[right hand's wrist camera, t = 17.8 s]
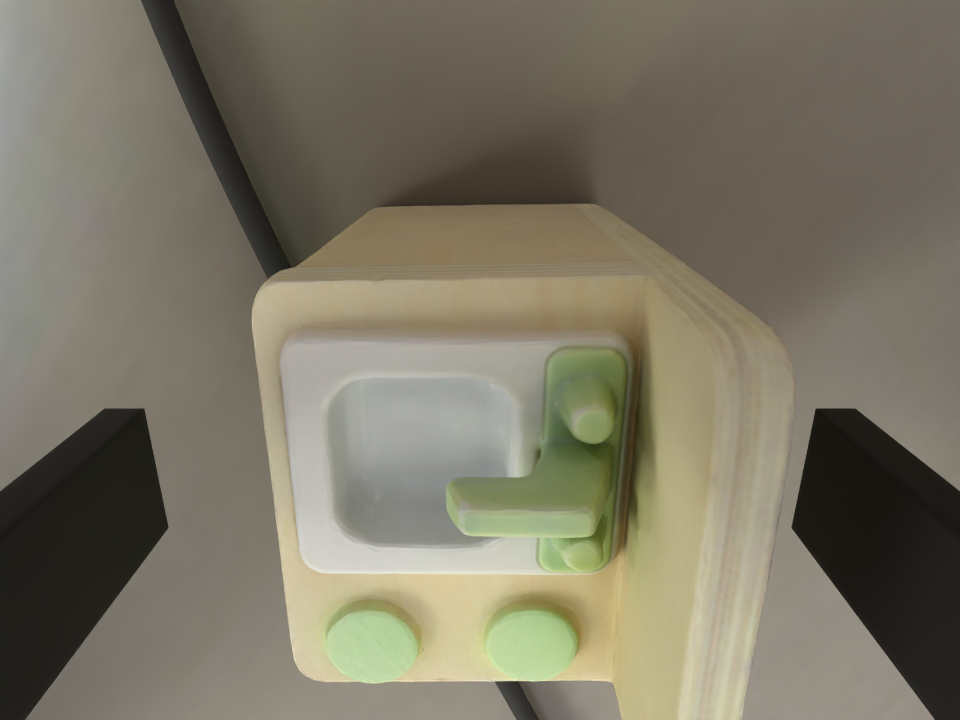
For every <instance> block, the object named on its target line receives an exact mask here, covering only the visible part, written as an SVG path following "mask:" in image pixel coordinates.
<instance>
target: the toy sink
mask: <svg viewBox="0 0 960 720" xmlns="http://www.w3.org/2000/svg"><path fill="white" fill-rule="evenodd" d="M252 333H253V340H254V348H255V357H256V365H257V373H258V380H259V388H260V396H261V404H262V412H263V421H264V430H265V437H266V443H267V450H268V459H269V467H270V475H271V482H272V489H273V497H274V508H275V516H276V524H277V531H278V539H279V549H280V558H281V566H282V573H283V582H284V591H285V599H286V605H287V615H288V624H289V632H290V638H291V644H292V650H293V658H294V660H295V663H296V665H297V667H298V669H299V670H300V671H301V672H302V673H303V674H304V675H305V676H307V677H309V678H311V679H313V680H317V681H322V682H364V683H384V682H388V681H400V682H420V681H441V682H442V681H533V682H535V681H582V680H588V681H610V682H612V683H613V684H614V687H615V691H616V695H617V699H618V704H619V708H620V712H621V717H622V720H741V718H742V713H743V708H744V703H745V698H746V693H747V688H748V683H749V678H750V674H751V669H752V664H753V659H754V654H755V646H756V640H757V635H758V629H759V624H760V619H761V614H762V608H763V603H764V598H765V593H766V588H767V583H768V578H769V573H770V568H771V563H772V557H773V551H774V545H775V539H776V533H777V527H778V520H779V516H780V511H781V506H782V499H783V493H784V486H785V480H786V474H787V469H788V462H789V455H790V448H791V440H792V432H793V423H794V415H795V392H796V385H795V379H794V373H793V366H792V362H791V357H790V353H789V351H788V350H787V349H786V347H785V345H784V342H783V341H782V339H781V338H780V337H779V335H778V334H777V333H776V331H775V330H774V329H773V328H772V327H771V326H770V325H769V324H768V323H766V322H765V321H763V320H762V319H760V318H759V317H758V316H756V315H755V314H754V313H752V312H751V311H750V310H748V309H747V308H745V307H744V306H742V305H741V304H739V303H738V302H737V301H735V300H734V299H733V298H732V297H730V296H729V295H728V294H727V293H725V292H724V291H722V290H721V289H720V288H718V287H716V286H715V285H714V284H712V283H711V282H710V281H708V280H707V279H706V278H705V277H703V276H702V275H700V274H699V273H697V272H696V271H694V270H693V269H692V268H690V267H689V266H688V265H686V264H685V263H684V262H682V261H681V260H680V259H678V258H677V257H675V256H673V255H672V254H671V253H670V252H668V251H667V250H665V249H664V248H662V247H661V246H660V245H658V244H657V243H655V242H654V241H652V240H651V239H650V238H648V237H646V236H645V235H643V234H642V233H641V232H639V231H638V230H636V229H635V228H633V227H632V226H630V225H629V224H627V223H626V222H624V221H623V220H622V219H620V218H619V217H617V216H616V215H614V214H613V213H612V212H610V211H608V210H607V209H605V208H604V207H602V206H600V205H596V204H528V205H460V206H397V207H379V208H374V209H371V210H369V211H368V212H367V213H366V214H365V215H363V216H362V217H361V218H360V219H359V220H357V221H356V222H354V223H353V224H351V225H350V226H349V227H348V228H346V229H345V230H344V231H343V232H341V233H340V234H338V235H337V236H336V237H334V238H333V239H332V240H331V241H329V242H328V243H327V244H325V245H324V246H323V247H322V248H321V249H320V250H318V251H317V252H316V253H314V254H313V255H312V256H310V257H309V258H307V259H306V260H304V261H303V262H301V263H300V264H299V265H297V266H296V267H294V268H289V269H285V270H281V271H279V272H277V273H276V274H274V275H273V276H271V277H270V278H269V279H268V280H267V281H266V282H265V283H264V284H263V285H262V286H261V288H260V289H259V290H258V293H257V295H256V297H255V300H254V303H253V309H252Z"/></svg>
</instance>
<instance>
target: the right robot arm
mask: <svg viewBox="0 0 960 720" xmlns="http://www.w3.org/2000/svg"><path fill="white" fill-rule="evenodd" d="M141 1H142V4H143V6H144V9H145V11H146V13H147V16H148V18H149V21H150V23H151V26H152V28H153V30H154V33H155V35H156V38H157V40H158V42H159V45H160V47H161V49H162V52H163V54H164V57H165V59H166V61H167V64H168V66H169V68H170V71H171V73H172V75H173V78H174V80H175V82H176V85H177V87H178V89H179V92H180V94H181V96H182V98H183V101H184V103H185V105H186V108H187V110H188V112H189V114H190V117H191V119H192V121H193V123H194V126H195V128H196V130H197V132H198V134H199V137H200V139H201V141H202V143H203V145H204V148H205V150H206V152H207V154H208V156H209V158H210V161H211V163H212V165H213V167H214V169H215V171H216V173H217V176H218V178H219V180H220V182H221V184H222V186H223V188H224V190H225V192H226V194H227V197H228V199H229V201H230V203H231V205H232V207H233V209H234V211H235V213H236V215H237V217H238V219H239V221H240V223H241V225H242V227H243V229H244V231H245V233H246V235H247V238H248V240H249V242H250V244H251V246H252V248H253V250H254V252H255V254H256V256H257V258H258V260H259V262H260V264H261V266H262V268H263V270H264V272H265V274H266V276H267V278H268V279H269V278H270V277H271V276H273V275H274V274H276V273H277V272H279V271H281V270H285V269H289V268H291V266H290V264H289V262H288V260H287V258H286V256H285V254H284V251H283V249H282V247H281V245H280V243H279V241H278V239H277V237H276V235H275V233H274V231H273V229H272V226H271V224H270V222H269V220H268V218H267V216H266V214H265V212H264V210H263V207H262V205H261V203H260V201H259V199H258V197H257V195H256V193H255V190H254V188H253V186H252V184H251V182H250V180H249V177H248V175H247V173H246V171H245V169H244V167H243V164H242V162H241V160H240V158H239V156H238V153H237V151H236V149H235V147H234V144H233V142H232V140H231V138H230V135H229V133H228V131H227V129H226V126H225V124H224V122H223V119H222V117H221V115H220V112H219V110H218V108H217V105H216V103H215V101H214V98H213V96H212V94H211V91H210V89H209V87H208V84H207V82H206V79H205V77H204V75H203V72H202V70H201V67H200V65H199V62H198V60H197V58H196V55H195V53H194V50H193V48H192V45H191V43H190V40H189V38H188V35H187V33H186V30H185V28H184V25H183V23H182V20H181V18H180V15H179V13H178V10H177V8H176V5H175V3H174V0H141ZM167 529H168V523H167V518H166V513H165V508H164V503H163V499H162V494H161V489H160V484H159V479H158V474H157V469H156V464H155V459H154V454H153V449H152V444H151V440H150V435H149V430H148V425H147V420H146V415H145V410H144V409H104V410H102V411H101V412H100V413H99V414H97V415H96V416H95V417H94V418H92V419H91V420H90V421H89V422H87V423H86V424H85V425H83V426H82V427H81V428H80V429H78V430H77V431H76V432H75V433H73V434H72V435H71V436H70V437H68V438H67V439H66V440H65V441H63V442H62V443H61V444H59V445H58V446H57V447H56V448H54V449H53V450H52V451H51V452H49V453H48V454H47V455H46V456H44V457H43V458H42V459H41V460H39V461H38V462H37V463H36V464H34V465H33V466H32V467H30V468H29V469H28V470H27V471H25V472H24V473H23V474H22V475H20V476H19V477H18V478H17V479H15V480H14V481H13V482H12V483H10V484H9V485H8V486H6V487H5V488H4V489H3V490H1V491H0V720H25V719H26V718H27V716H28V715H29V714H30V712H31V711H32V710H33V708H34V707H35V706H36V704H37V703H38V702H39V700H40V699H41V698H42V696H43V695H44V694H45V692H46V691H47V690H48V688H49V687H50V686H51V684H52V683H53V682H54V680H55V679H56V678H57V676H58V675H59V674H60V672H61V671H62V669H63V668H64V667H65V665H66V664H67V663H68V661H69V660H70V659H71V657H72V656H73V655H74V653H75V652H76V651H77V649H78V648H79V647H80V645H81V644H82V643H83V641H84V640H85V639H86V637H87V636H88V635H89V633H90V632H91V631H92V629H93V628H94V627H95V625H96V624H97V623H98V621H99V620H100V619H101V617H102V616H103V615H104V613H105V612H106V611H107V609H108V608H109V607H110V605H111V604H112V603H113V601H114V600H115V599H116V597H117V596H118V595H119V593H120V592H121V591H122V589H123V588H124V587H125V585H126V584H127V583H128V581H129V580H130V579H131V577H132V576H133V575H134V573H135V572H136V571H137V569H138V568H139V567H140V565H141V564H142V563H143V561H144V560H145V559H146V557H147V556H148V555H149V553H150V552H151V551H152V549H153V548H154V547H155V545H156V544H157V542H158V541H159V540H160V538H161V537H162V536H163V534H164V533H165V532H166V530H167ZM792 529H793V530H794V532H795V533H796V534H797V536H798V537H799V538H800V540H801V541H802V542H803V544H804V545H805V546H806V548H807V549H808V550H809V552H810V553H811V554H812V556H813V557H814V559H815V560H816V561H817V563H818V564H819V565H820V567H821V568H822V569H823V571H824V572H825V573H826V575H827V576H828V577H829V579H830V580H831V581H832V583H833V584H834V585H835V587H836V588H837V589H838V591H839V592H840V593H841V595H842V596H843V597H844V599H845V600H846V601H847V603H848V604H849V605H850V607H851V608H852V609H853V611H854V612H855V613H856V615H857V616H858V617H859V619H860V620H861V621H862V623H863V624H864V625H865V627H866V628H867V629H868V631H869V632H870V633H871V635H872V636H873V637H874V639H875V640H876V641H877V643H878V644H879V645H880V647H881V648H882V649H883V651H884V652H885V653H886V655H887V656H888V657H889V659H890V660H891V661H892V663H893V664H894V665H895V667H896V668H897V669H898V671H899V672H900V673H901V675H902V676H903V677H904V679H905V680H906V681H907V683H908V684H909V686H910V687H911V688H912V690H913V691H914V692H915V694H916V695H917V696H918V698H919V699H920V700H921V702H922V703H923V704H924V706H925V707H926V708H927V710H928V711H929V712H930V714H931V715H932V716H933V718H934V719H935V720H960V491H959V490H957V489H956V488H955V487H954V486H952V485H951V484H950V483H949V482H947V481H946V480H945V479H943V478H942V477H941V476H940V475H938V474H937V473H936V472H935V471H933V470H932V469H931V468H930V467H928V466H927V465H926V464H925V463H923V462H922V461H921V460H919V459H918V458H917V457H916V456H914V455H913V454H912V453H911V452H909V451H908V450H907V449H906V448H904V447H903V446H902V445H901V444H899V443H898V442H897V441H895V440H894V439H893V438H892V437H890V436H889V435H888V434H887V433H885V432H884V431H883V430H882V429H880V428H879V427H878V426H877V425H875V424H874V423H873V422H872V421H870V420H869V419H868V418H866V417H865V416H864V415H863V414H861V413H860V412H859V411H858V410H856V409H816V410H815V415H814V420H813V425H812V430H811V435H810V440H809V445H808V450H807V454H806V459H805V464H804V469H803V474H802V479H801V484H800V489H799V494H798V499H797V504H796V509H795V513H794V518H793V523H792ZM495 683H496V684H497V686H498V688H499V689H500V691H501V693H502V695H503V696H504V698H505V700H506V702H507V703H508V705H509V707H510V709H511V710H512V712H513V714H514V716H515V717H516V719H517V720H539V719H538V717H537V715H536V713H535V712H534V710H533V708H532V706H531V704H530V703H529V701H528V699H527V697H526V695H525V694H524V692H523V690H522V688H521V686H520V685H519V683H518V681H495Z"/></svg>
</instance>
